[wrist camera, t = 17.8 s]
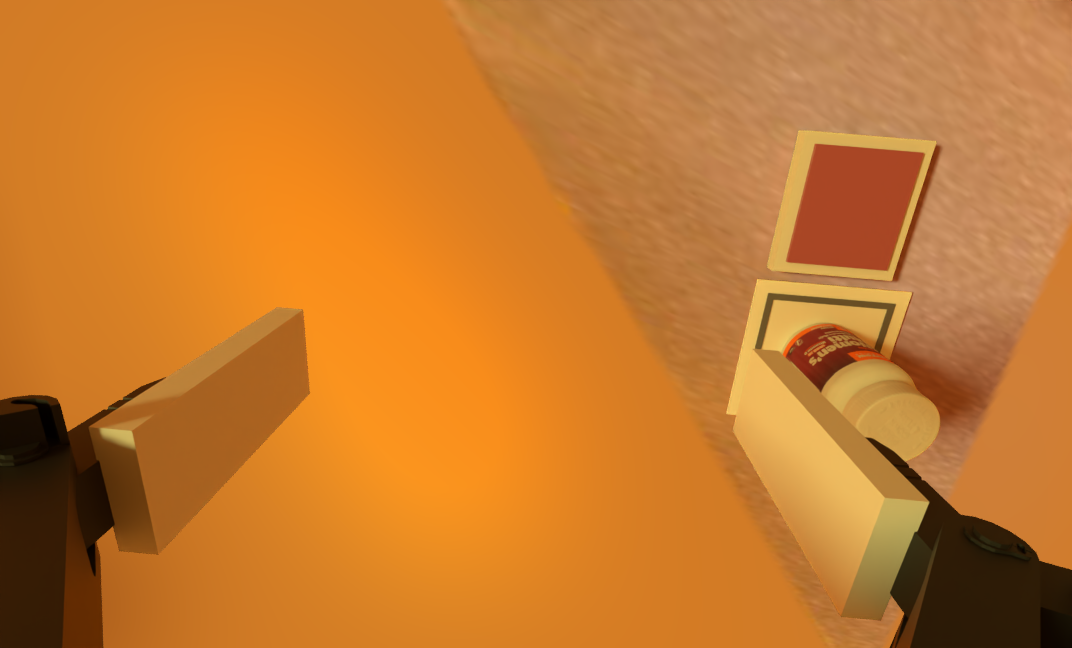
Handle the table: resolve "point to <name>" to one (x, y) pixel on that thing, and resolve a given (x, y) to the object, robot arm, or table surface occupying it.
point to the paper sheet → (817, 318)
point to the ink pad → (848, 204)
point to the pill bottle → (865, 387)
